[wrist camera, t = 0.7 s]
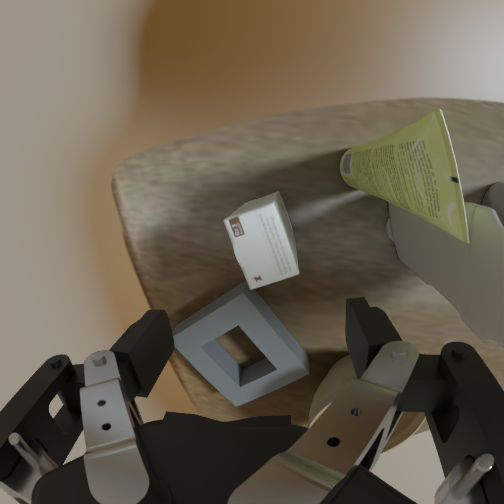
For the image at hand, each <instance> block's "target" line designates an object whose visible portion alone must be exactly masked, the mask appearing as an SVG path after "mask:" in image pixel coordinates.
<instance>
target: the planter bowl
mask: <svg viewBox="0 0 504 504" xmlns="http://www.w3.org/2000/svg"><path fill="white" fill-rule="evenodd" d="M353 377H355V378H357V377H356V373H355V370H354V366H353V363H352V360H351V357H350V355H348V356H346V357H344V358H342V359H340V360H339V361H337V362H336V363H335V364H334V365H333V366H332V367H331V368H330V370H329V372H328V373H327V376H326V377H325V378H324V380H323V381H322V382H321V384H320V385H319V387H318V389H317V391H316V393H315V395H314V397H313V400H312V403H311V407H310V412H309V422H308V427H307V428H310V427H311V426H312V424H313V423H314V422H315V421H316V420H317V419H318V418H319V417H320V416H321V414H322V413H323V412H324V411H325V410H326V409H327V407H328V406H329V405H330V404H331V403H332V402H333V400H334V399H335V398H336V397H337V396H338V394H339V393H340V392H341V391H342V389H343V388H344V387H345V386H346V384H347V383H348V382H349V381H350V380H351V379H352V378H353ZM425 419H426V416H425V413H424V412H403V414H402V416H401V418H400V420H399V422H398V423H397V425H396V427H395V429H394V431H393V433H392V434H391V436H390V438H389V440H388V442H387V443H386V445H385V447H384V449H383V450H382V452H381V454H383V453H385V452H388V451H390V450H392V449H393V448H395V447H397V446H399V445H400V444H402V443H403V442H405V441H406V440H407V439H409V438H410V437H411V436H412V435H413V434H414V433H415V432H416V431H417V430H418V429H419V428H420V427H421V425H422V424H423V422H424V421H425Z"/></svg>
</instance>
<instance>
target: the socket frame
mask: <svg viewBox="0 0 504 504" xmlns="http://www.w3.org/2000/svg"><path fill="white" fill-rule="evenodd" d="M238 325H239V327H240V328H241V329H242V330H243V331H244V332H245V333H246V335H247V336H248V337H249V338H250V339H251V340H252V342H253V343H254V344H255V345H256V346H257V347H258V348H259V350H260V351H261V352H262V353H263V354H264V355H265V356H266V358H264V359H262V360H260V361H258V362H256V363H254V364H252V365H250V366H248V367H246V368H244V369H243V368H242V367H241V366H240V365H239V364H238V363H237V362H236V361H235V360H234V359H233V358H232V357H231V356H230V355H229V354H228V353H227V351H226V350H225V349H224V348H223V347H222V346H221V345H220V344H219V343H218V342H217V341H216V339H215V338H217V337H219V336H221V335H223V334H224V333H226V332H228V331H229V330H231V329H233V328H235V327H236V326H238ZM172 334H173V338H174V346H175V347H176V349H177V350H178V351H179V352H180V353H181V354H182V355H183V356H184V357H185V358H186V359H187V360H188V361H189V362H190V363H191V364H192V365H193V366H194V367H195V368H196V369H197V370H198V371H199V372H200V373H201V374H202V375H203V376H204V377H205V378H206V379H207V380H208V381H209V382H210V383H211V384H212V385H213V386H214V387H215V388H216V389H217V390H218V391H219V392H220V393H221V394H222V395H224V396H225V397H226V398H227V399H228V400H229V401H230V402H231V403H232V404H233V405H234V406H236V407H237V406H240V405H242V404H245V403H247V402H250V401H252V400H254V399H257V398H259V397H261V396H264V395H266V394H268V393H270V392H273V391H275V390H277V389H279V388H281V387H283V386H286V385H288V384H290V383H292V382H294V381H296V380H298V379H300V378H302V377H304V376H306V375H308V374H310V369H309V361H308V355H307V354H306V352H305V351H304V350H303V349H302V347H301V346H300V345H299V344H298V343H297V341H296V340H295V339H294V338H293V336H292V335H291V334H290V333H289V331H288V330H287V329H286V328H285V326H284V325H283V324H282V323H281V321H280V320H279V319H278V317H277V316H276V315H275V314H274V312H273V311H272V310H271V309H270V307H269V306H268V305H267V304H266V302H265V301H264V300H263V299H262V297H261V296H260V295H259V293H258V292H257V291H256V290H255V289H252V290H250V288H249V286H248V283H247V281H246V280H245V281H243V282H242V283H240V284H239V285H237V286H236V287H234V288H233V289H231V290H230V291H228V292H226V293H225V294H223V295H222V296H220V297H219V298H217V299H216V300H214V301H213V302H211V303H210V304H208V305H206V306H205V307H203V308H202V309H200V310H199V311H197V312H196V313H194V314H192V315H191V316H189V317H188V318H186V319H185V320H183V321H181V322H180V323H178V324H177V326H176V327H175V329H174V331H173V332H172Z"/></svg>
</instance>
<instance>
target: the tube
mask: <svg viewBox="0 0 504 504" xmlns="http://www.w3.org/2000/svg"><path fill="white" fill-rule="evenodd" d="M340 173H341V176H342V178H343V179H344V181H345V182H346V183H347V184H348V185H349V186H351V187H353V188H355V189H358V190H361V191H363V192H366V193H369V194H371V195H374V196H376V197H379V198H381V199H383V200H386V201H388V202H390V203H392V204H395V205H397V206H399V207H401V208H403V209H405V210H407V211H409V212H411V213H413V214H415V215H417V216H419V217H421V218H423V219H425V220H426V221H428V222H430V223H432V224H434V225H435V226H437V227H439V228H441V229H442V230H444V231H446V232H447V233H449V234H451V235H452V236H454V237H456V238H457V239H459V240H461V241H463V242H465V243H469V237H468V227H467V220H466V213H465V206H464V199H463V194H462V189H461V184H460V179H459V174H458V169H457V164H456V160H455V156H454V152H453V148H452V144H451V140H450V136H449V132H448V129H447V126H446V123H445V120H444V116H443V114H442V111H441V109H436V110H433V111H431V112H430V113H429V114H427V115H426V116H424V117H423V118H421V119H420V120H418V121H416V122H414V123H412V124H410V125H408V126H406V127H404V128H402V129H400V130H398V131H396V132H394V133H391V134H389V135H387V136H385V137H382V138H380V139H377V140H375V141H372V142H369V143H366V144H363V145H359V146H356V147H353V148H351V149H349V150H347V151H346V152H345V153H344V155H343V156H342V158H341V161H340Z"/></svg>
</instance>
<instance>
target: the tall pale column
mask: <svg viewBox="0 0 504 504" xmlns="http://www.w3.org/2000/svg"><path fill="white" fill-rule="evenodd" d="M464 206H465V213H466V220H467V227H468V237H469V243H465V242H463V241H461V240H459V239H457V238H456V237H454V236H452V235H451V234H449V233H447V232H446V231H444V230H442V229H441V228H439V227H437V226H435V225H434V224H432V223H430V222H428V221H426V220H425V219H423V218H421V217H419V216H417V215H415V214H413V213H411V212H409V211H407V210H405V209H403V208H401V207H399V206H397V205H395V204H392V203H390V202H388V209H389V218H388V220H387V223H386V232H387V235H388V237H389V238H390V240H392V241H393V242H394V244H395V248H396V251H397V254H398V257H399V259H400V260H401V262H402V263H403V264H405V265H406V266H407V267H408V268H409V269H410V270H412V271H413V272H414V273H415V274H416V275H417V276H418V277H420V278H421V279H422V280H423V281H424V282H425V283H426V284H429V285H432V286H434V287H435V289H436V290H438V291H439V292H440V293H441V294H442V295H443V296H444V297H445V298H446V299H447V300H448V301H449V302H450V303H451V304H452V305H453V306H454V307H455V308H456V309H457V311H458V312H459V313H460V315H461V317H462V319H463V321H464V322H465V323H466V325H467V326H468V327H469V328H470V329H471V330H472V331H473V332H474V333H475V334H476V335H477V336H478V337H479V339H480V340H481V341H482V342H483V343H488V342H489V341H491V340H493V341H495V342H497V343H499V344H500V345H502V346H504V227H503V226H502V224H501V222H500V220H499V217H498V215H497V213H496V211H495V210H494V209H492V208H490V207H486V206H483V205H479V204H475V203H471V202H464Z"/></svg>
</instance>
